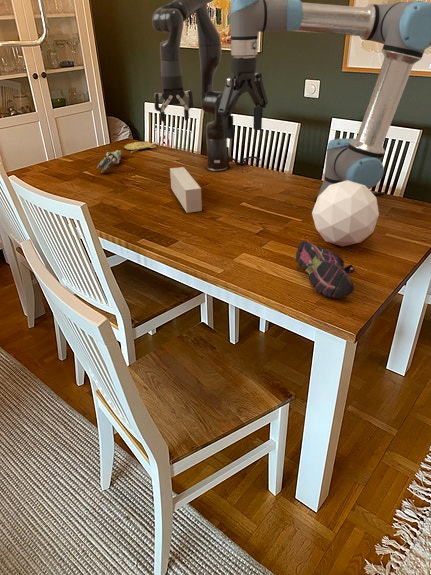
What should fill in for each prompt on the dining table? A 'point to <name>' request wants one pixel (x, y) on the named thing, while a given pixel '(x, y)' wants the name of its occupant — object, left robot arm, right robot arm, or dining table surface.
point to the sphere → (345, 213)
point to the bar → (186, 189)
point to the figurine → (110, 160)
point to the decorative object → (139, 146)
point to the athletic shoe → (325, 270)
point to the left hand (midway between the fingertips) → (175, 121)
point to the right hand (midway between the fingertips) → (243, 133)
